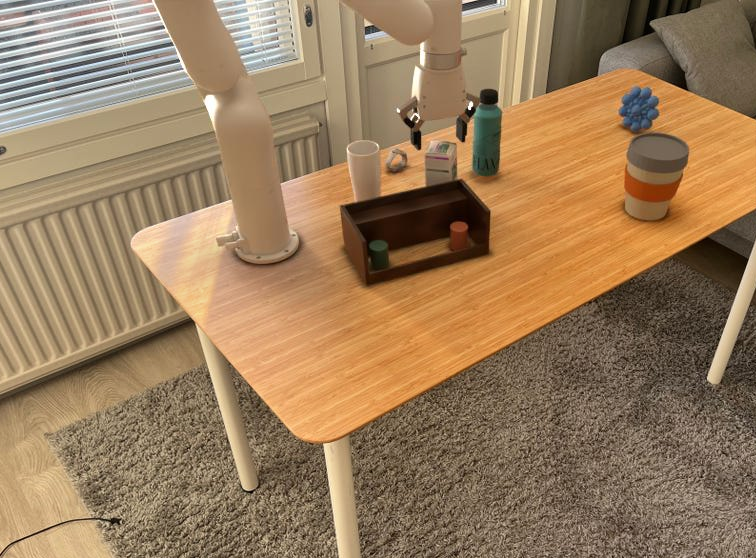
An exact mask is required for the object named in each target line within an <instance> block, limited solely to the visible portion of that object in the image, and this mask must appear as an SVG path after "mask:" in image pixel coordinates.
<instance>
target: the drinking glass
mask: <svg viewBox="0 0 756 558" xmlns="http://www.w3.org/2000/svg"><path fill="white" fill-rule="evenodd" d="M346 158H347V159H346V160H347V168H348V172H349V173H348V174H349V178H350V182H351V188H352V192H353V197H354V202H358V201H362V200H367V199H371V198H376V197H380V196H382V156H381V147H380V145H379V144H378V143H377V142H375V141H372V140H366V139H365V140H355V141H353V142H351V143H348V145H347V147H346Z"/></svg>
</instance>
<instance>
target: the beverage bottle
mask: <svg viewBox="0 0 756 558" xmlns="http://www.w3.org/2000/svg"><path fill="white" fill-rule="evenodd" d="M478 97H479V98H480V99H481V101H480V103H479V105H478V107H477V108H476V112H475V114H474V115H473V140H472V147H471V148H472V150H471V154H472V159H471V169H472V172H473V174H475V175H477V176H480V177H492V176H495V175H496V174H498V172H499V170H500V167H501V166H500V161H501V141H502V134H503V133H502V117H503V111H502V109H501V107H500V106H498V105H497V104H498V103H499V91H498V90H497V89H493V88H484V89H481V90H480V91H479V96H478Z"/></svg>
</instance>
